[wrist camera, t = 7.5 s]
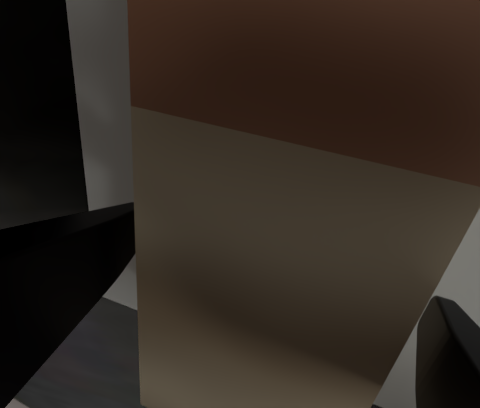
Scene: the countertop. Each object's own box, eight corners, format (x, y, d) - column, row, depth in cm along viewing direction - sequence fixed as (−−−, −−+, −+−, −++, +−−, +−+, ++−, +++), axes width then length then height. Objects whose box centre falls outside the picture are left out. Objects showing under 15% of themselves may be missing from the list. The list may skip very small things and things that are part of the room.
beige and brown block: (337, 371, 13) (324, 491, 10) (195, 316, 14) (140, 404, 11) (491, 11, 7) (596, -7, 4) (224, -20, 8) (125, -55, 5)
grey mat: (825, -15, 6) (867, -19, 5) (465, 425, 13) (468, 442, 12) (72, -79, 10) (56, -85, 9) (106, 286, 16) (98, 294, 16)
